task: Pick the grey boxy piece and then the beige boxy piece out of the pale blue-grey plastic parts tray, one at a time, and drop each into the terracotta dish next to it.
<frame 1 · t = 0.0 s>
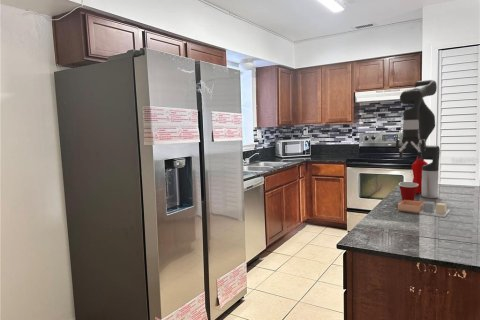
hand: (410, 158, 177), 29 cm above the counter, tool pointing down, fingers open, 8 cm apart
beige boxy piece: (440, 213, 174), resting on tray
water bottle: (418, 192, 226), on the counter
dish: (411, 210, 184), on the counter
tray: (434, 213, 176), on the counter
plastic cup: (407, 203, 199), on the counter
grey boxy piece: (429, 211, 178), resting on tray
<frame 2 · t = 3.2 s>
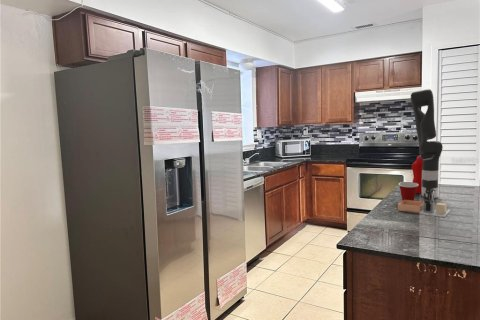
hand: (429, 209, 178), 1 cm above the counter, tool pointing down, fingers closed on grey boxy piece, 4 cm apart
grey boxy piece: (429, 211, 178), resting on tray, touching gripper
everything else where it was.
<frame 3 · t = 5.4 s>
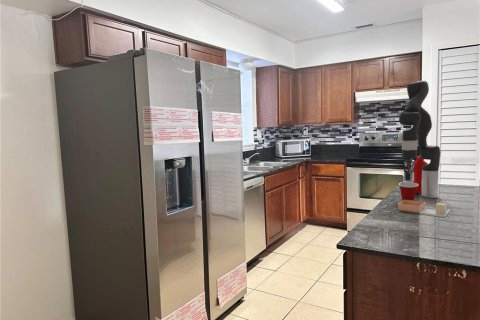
hand: (408, 179, 183), 17 cm above the counter, tool pointing down, fingers closed on grey boxy piece, 4 cm apart
grey boxy piece: (408, 181, 183), point 16 cm above the counter, touching gripper
everything else where it was.
when the fingers open (5 cm above the counter, at t = 7.7 s): grey boxy piece drops 3 cm, resting on dish.
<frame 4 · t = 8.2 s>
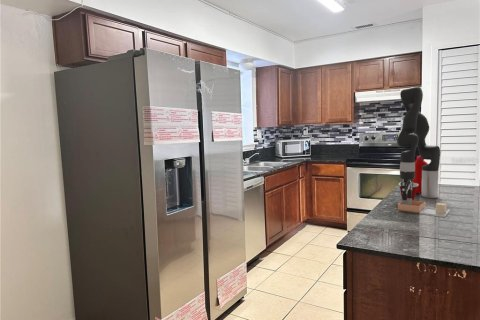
hand: (406, 198, 185), 6 cm above the counter, tool pointing down, fingers open, 8 cm apart
grey boxy piece: (406, 207, 185), point 1 cm above the counter, touching dish
everything else where it was.
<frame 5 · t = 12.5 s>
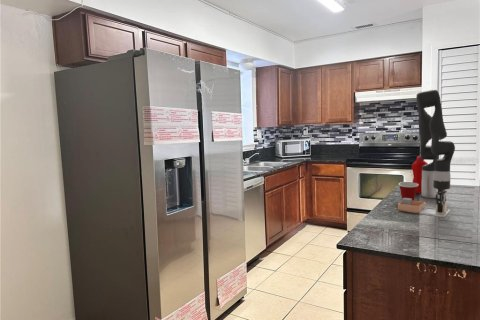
hand: (440, 211, 174), 1 cm above the counter, tool pointing down, fingers closed on beige boxy piece, 4 cm apart
beige boxy piece: (440, 213, 174), resting on tray, touching gripper
everything else where it was.
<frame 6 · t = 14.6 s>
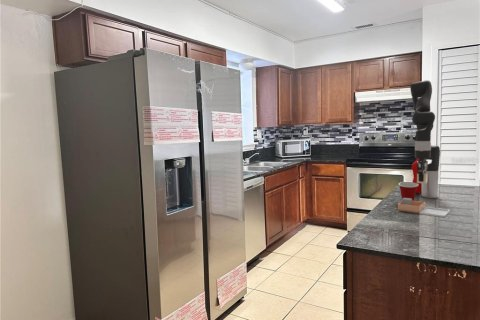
hand: (422, 180, 179), 17 cm above the counter, tool pointing down, fingers closed on beige boxy piece, 4 cm apart
beige boxy piece: (422, 182, 179), point 16 cm above the counter, touching gripper
everything else where it was.
when the fingers open (5 cm above the counter, at t = 17.0 s): beige boxy piece drops 3 cm, resting on dish.
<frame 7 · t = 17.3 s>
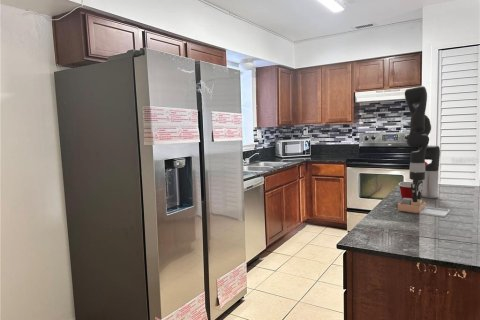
hand: (416, 200, 181), 6 cm above the counter, tool pointing down, fingers open, 6 cm apart
beige boxy piece: (416, 208, 182), point 1 cm above the counter, touching dish
everything else where it was.
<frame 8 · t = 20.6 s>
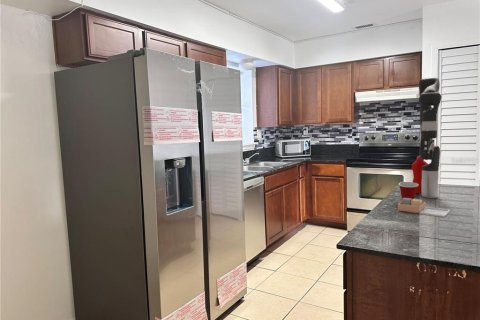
hand: (428, 159, 182), 28 cm above the counter, tool pointing down, fingers open, 8 cm apart
nothing on the counter moved.
at the end: grey boxy piece inside the target area on the dish (2.5 cm from its centre), point 1.0 cm above the dish's base; beige boxy piece inside the target area on the dish (2.5 cm from its centre), point 1.0 cm above the dish's base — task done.
